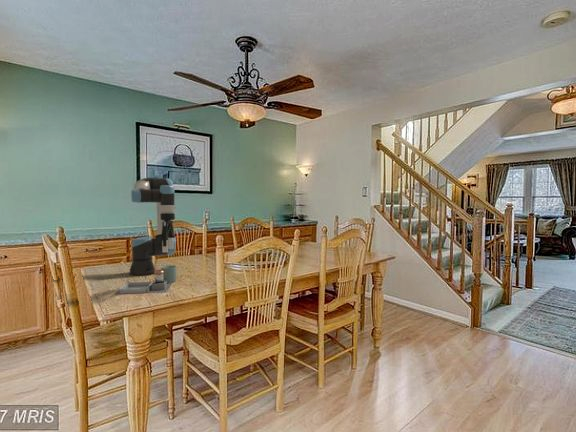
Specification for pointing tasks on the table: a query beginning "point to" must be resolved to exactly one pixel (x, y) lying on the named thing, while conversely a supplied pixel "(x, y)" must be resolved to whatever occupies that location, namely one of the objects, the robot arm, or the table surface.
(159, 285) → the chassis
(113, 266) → the table surface
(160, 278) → the plunger
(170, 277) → the cup
